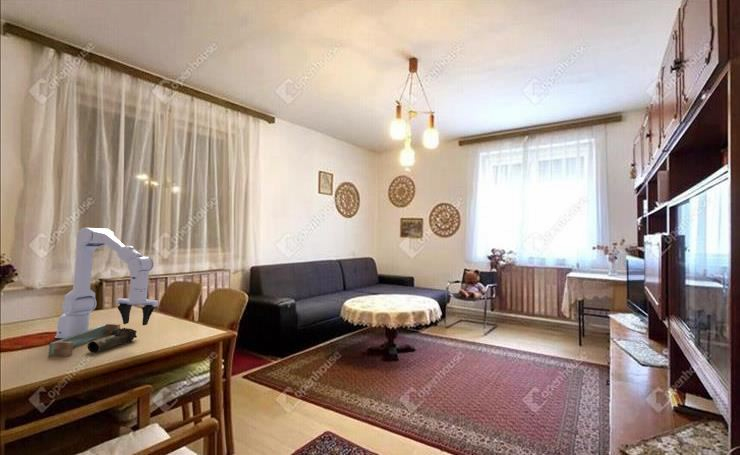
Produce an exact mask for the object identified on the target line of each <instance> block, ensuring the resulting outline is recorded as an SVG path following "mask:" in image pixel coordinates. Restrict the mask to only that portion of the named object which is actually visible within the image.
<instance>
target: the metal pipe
mask: <svg viewBox="0 0 740 455" xmlns="http://www.w3.org/2000/svg"><path fill="white" fill-rule="evenodd" d="M137 337H138V336H137V330H135V329H133V328H127V327H122V328H121V327H120V328H119V329H115V330H113V331H112V332H111V335H107V336H105V337H100V338H97V339H96V340H95V339H94V340H91V341H89V343H88V344H87V350H88V351H89V352H90V353H92V354H98V353H100V352H102V351H105V350H108V349H110V348H113V347H115V346H117V345H121V344H125V343H129V344H130V343H132V341H133V340H135V338H137Z"/></svg>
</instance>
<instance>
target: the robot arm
mask: <svg viewBox="0 0 740 455" xmlns="http://www.w3.org/2000/svg"><path fill="white" fill-rule="evenodd" d="M76 235H77V236H76V246H75V247H76V251H75V263H74V264H75V265H74V273H73V275H74V276H73V283H72V284H73V286H72V289H71V290H70V291H69V292H68V293H66V294H64V298H63V302H62V304H61V311H62V312H63V314H61V315H60V316H59V318H58V320H57V326H56V335H55V336H54V338H55V339H64V338H67V337H69V336H72V335H75V334H78V333H81V332H84V331H86V330H89V329H90V328H89V327H90V318H91V313H93V310H95V308H96V307H97V300H96V292H94V291H93V290H92V289H91V281H92V270H93V261H94V260H93V259H94V251H96V250H97V249H98V248H100V247H103V246H107V247H108V248H110V249H111V250H113V251H115V252H116V255H117V258H118V259H119V260H121V261H122V262H124V263H125V264H127V268H128V271H129V276H130V285H129V294H128V298H117V299H116V300H115V301H116V302H115V304H116V305H118V306H117V310H118V311H119V314H120V315H121V318H122V324H123V325H127V324H129V323H130V315H131V314H130V313H131V309H132V306H143V307H141V310H142V311H141V312H142V326H146V325H148V323H149V320H150V318H151V316H152V314H153V312H154V310H156V307H158V306H159V300H154V299H148V297H147V296H148V287H149V278H150V277H149V275H150V271H152V269H153V268H154V261H153V258H152V257H151V256H144V255H143V253H140V252H139V251H137V250H136V249H135V247H134V246H133V245H125V244H124V243H122V241H120V240H119V238H118V237H116V235H115V232H114V231H112V230H111V229H110V228H97V227H95V228H94V227H83V228H81V229H80V230H79V231H77V234H76Z"/></svg>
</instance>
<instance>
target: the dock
mask: <svg viewBox="0 0 740 455" xmlns="http://www.w3.org/2000/svg"><path fill="white" fill-rule="evenodd" d="M119 328H121V323H110V322H108V323H104V324H100V325H99V326H95V327H92V328H89V329H88V330H86V331H84V332H81V333H78V334H75V335H72V336H69V337H67V338H60V339H59V340H55V341H53V342H50V343H49V348H48V355H49V356H53V355H54V357H70V356H72V355H73V348H75V347H76V348H77V347H78V346H81V345H83V344H86V343H88V342H91V341H94V340H95V339H96V340H97V339H100V338H102V337H103V336H110V335H111V332H112V331H113V330H115V329H119Z"/></svg>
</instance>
